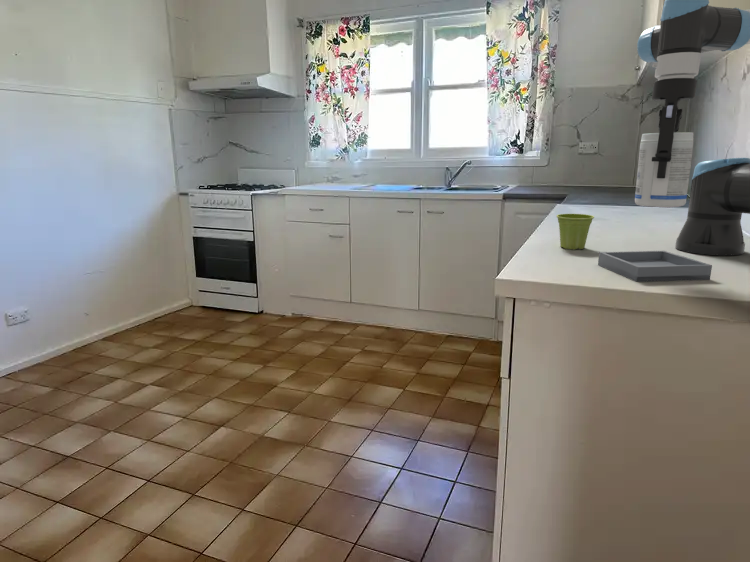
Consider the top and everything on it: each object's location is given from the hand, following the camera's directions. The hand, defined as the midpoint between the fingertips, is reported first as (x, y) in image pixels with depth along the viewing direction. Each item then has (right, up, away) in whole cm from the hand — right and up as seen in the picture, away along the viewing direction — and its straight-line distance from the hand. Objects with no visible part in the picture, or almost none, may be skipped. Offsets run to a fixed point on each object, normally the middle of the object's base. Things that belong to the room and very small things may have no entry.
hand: (660, 193), depth 107 cm
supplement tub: (0, -3, +1) cm, 3 cm away
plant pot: (-6, -10, +32) cm, 34 cm away
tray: (0, -16, +4) cm, 17 cm away
